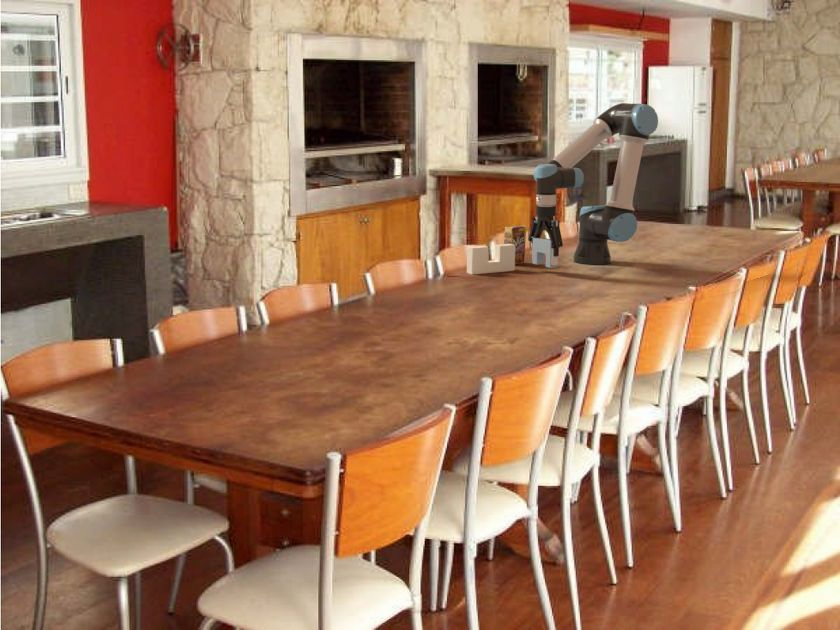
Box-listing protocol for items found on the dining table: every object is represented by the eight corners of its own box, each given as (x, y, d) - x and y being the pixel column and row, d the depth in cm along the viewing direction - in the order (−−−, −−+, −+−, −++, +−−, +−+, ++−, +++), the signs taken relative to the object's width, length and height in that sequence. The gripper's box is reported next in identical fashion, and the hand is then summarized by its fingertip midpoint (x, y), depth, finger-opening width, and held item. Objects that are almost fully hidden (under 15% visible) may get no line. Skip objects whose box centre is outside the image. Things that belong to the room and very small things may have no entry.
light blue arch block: (532, 263, 422) (532, 237, 420) (539, 262, 424) (540, 237, 422) (550, 267, 413) (550, 241, 411) (557, 266, 415) (557, 240, 413)
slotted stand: (509, 269, 426) (510, 243, 424) (514, 270, 423) (515, 244, 421) (466, 272, 415) (467, 246, 413) (471, 274, 413) (472, 248, 410)
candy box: (510, 265, 433) (511, 227, 430) (502, 264, 436) (503, 226, 433) (525, 263, 440) (526, 225, 436) (517, 262, 443) (518, 224, 439)
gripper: (519, 202, 421) (518, 258, 426) (557, 209, 402) (556, 268, 407) (535, 201, 425) (534, 256, 430) (573, 208, 405) (572, 266, 410)
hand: (544, 262), depth 418 cm, fingers closed on light blue arch block, 11 cm apart
